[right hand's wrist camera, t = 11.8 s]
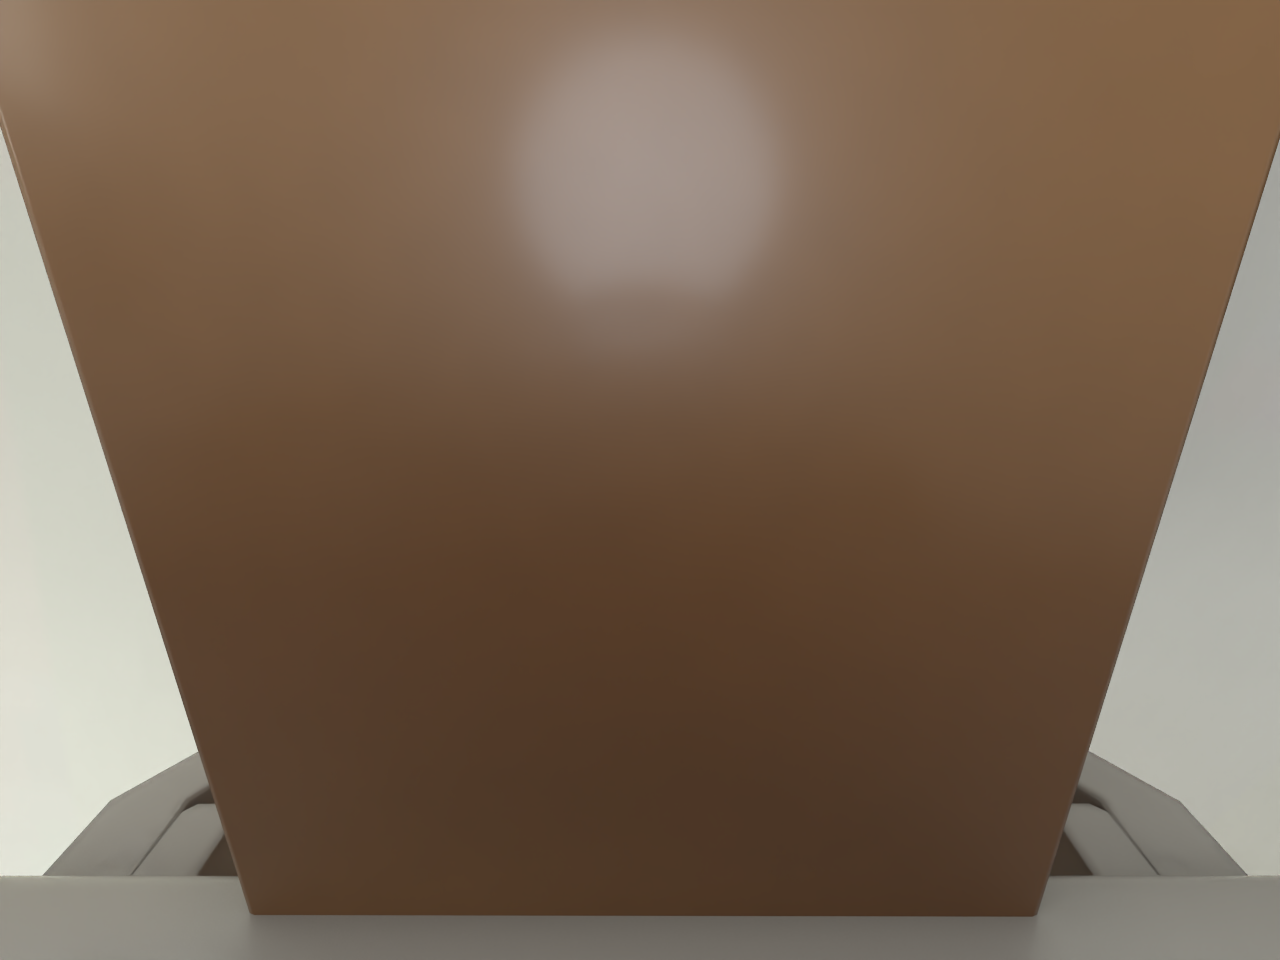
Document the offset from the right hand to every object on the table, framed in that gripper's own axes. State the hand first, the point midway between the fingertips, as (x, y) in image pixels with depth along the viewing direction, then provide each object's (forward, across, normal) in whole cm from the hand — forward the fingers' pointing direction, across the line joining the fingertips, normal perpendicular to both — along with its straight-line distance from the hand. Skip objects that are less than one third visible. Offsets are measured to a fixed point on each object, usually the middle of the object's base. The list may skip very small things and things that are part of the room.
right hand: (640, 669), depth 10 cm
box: (+7, 0, -10) cm, 12 cm away
